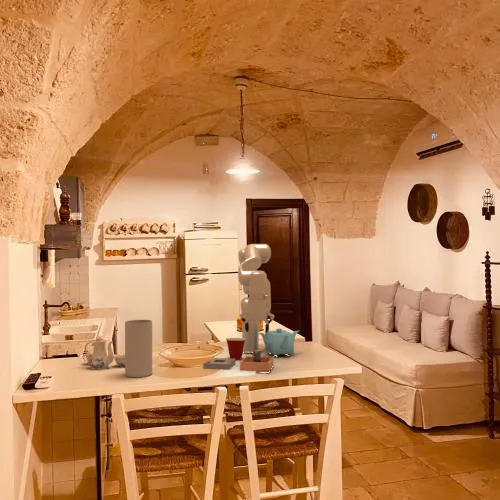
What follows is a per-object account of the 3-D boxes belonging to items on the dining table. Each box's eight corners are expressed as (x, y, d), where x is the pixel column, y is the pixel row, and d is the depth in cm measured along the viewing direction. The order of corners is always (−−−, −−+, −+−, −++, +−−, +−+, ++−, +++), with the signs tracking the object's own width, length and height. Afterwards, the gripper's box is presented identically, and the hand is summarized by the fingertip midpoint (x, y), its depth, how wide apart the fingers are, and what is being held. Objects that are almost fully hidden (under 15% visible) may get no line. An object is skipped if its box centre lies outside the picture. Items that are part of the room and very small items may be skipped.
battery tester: (210, 364, 248) (210, 356, 249) (235, 365, 246) (235, 357, 246) (203, 370, 236) (203, 361, 236) (229, 371, 233) (229, 362, 233)
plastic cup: (249, 359, 260) (249, 337, 260) (240, 363, 250) (240, 340, 251) (231, 357, 265) (231, 335, 265) (222, 361, 255) (222, 338, 255)
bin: (246, 365, 245) (246, 355, 245) (273, 367, 242) (273, 357, 242) (240, 372, 232) (240, 361, 232) (269, 373, 229) (268, 363, 229)
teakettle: (271, 350, 284) (271, 325, 284) (301, 353, 276) (300, 327, 276) (257, 356, 267) (256, 330, 268) (288, 359, 259) (288, 332, 259)
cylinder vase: (135, 370, 236) (135, 319, 236) (157, 372, 232) (157, 320, 232) (119, 376, 225) (119, 322, 225) (142, 379, 220) (142, 323, 220)
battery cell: (254, 367, 239) (253, 349, 239) (261, 367, 238) (261, 349, 238) (252, 368, 236) (252, 351, 236) (259, 369, 235) (259, 351, 235)
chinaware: (135, 367, 249) (137, 335, 251) (119, 372, 233) (121, 337, 235) (87, 365, 256) (89, 333, 258) (68, 368, 240) (70, 335, 242)
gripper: (275, 296, 239) (275, 331, 240) (241, 296, 243) (241, 330, 243) (273, 298, 232) (273, 334, 232) (238, 297, 235) (238, 332, 236)
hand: (257, 331), depth 238 cm, fingers open, 9 cm apart
